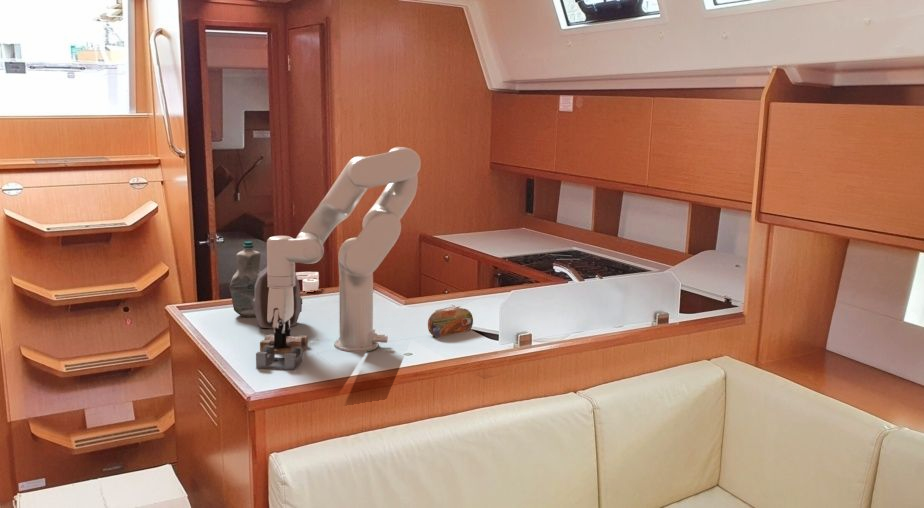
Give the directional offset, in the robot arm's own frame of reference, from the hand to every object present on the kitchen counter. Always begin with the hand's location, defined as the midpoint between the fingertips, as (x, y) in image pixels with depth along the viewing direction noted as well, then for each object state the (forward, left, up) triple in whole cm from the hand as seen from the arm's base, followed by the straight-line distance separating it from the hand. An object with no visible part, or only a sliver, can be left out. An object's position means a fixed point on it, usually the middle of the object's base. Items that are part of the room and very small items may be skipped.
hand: (282, 344), depth 213 cm
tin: (-46, -21, -2) cm, 50 cm away
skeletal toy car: (+17, -69, -2) cm, 71 cm away
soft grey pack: (+8, -23, -2) cm, 25 cm away
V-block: (-4, +14, -1) cm, 14 cm away
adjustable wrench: (-41, -34, -1) cm, 53 cm away
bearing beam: (-1, 0, -1) cm, 1 cm away
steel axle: (0, 0, +1) cm, 1 cm away
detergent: (+21, -34, -2) cm, 39 cm away
